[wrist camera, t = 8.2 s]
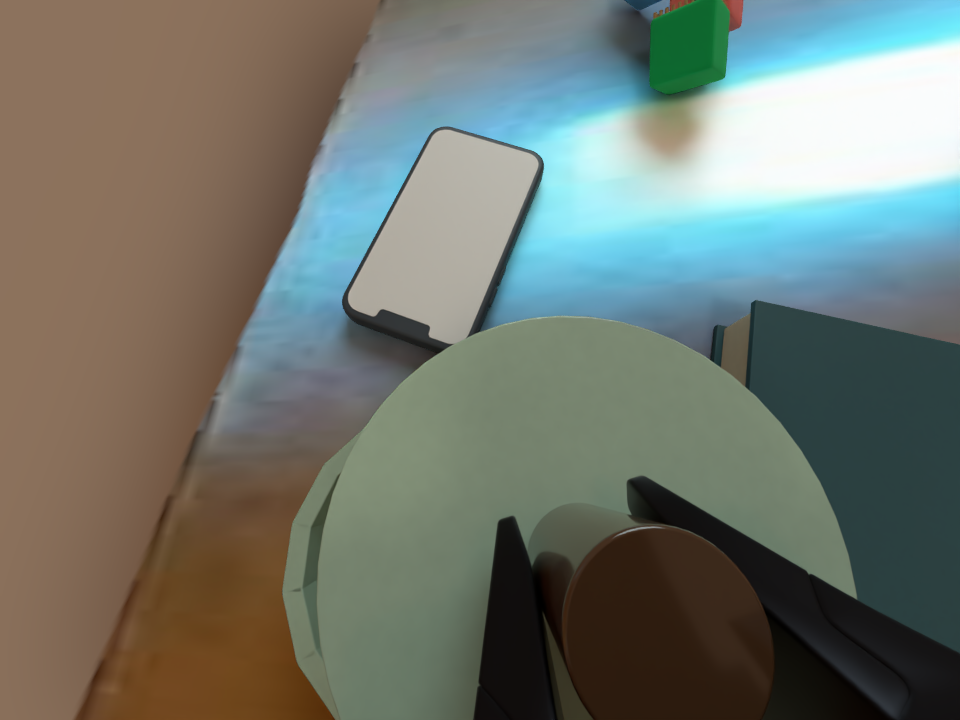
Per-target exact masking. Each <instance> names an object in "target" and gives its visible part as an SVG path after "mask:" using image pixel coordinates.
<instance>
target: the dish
mask: <svg viewBox="0 0 960 720" xmlns="http://www.w3.org/2000/svg"><path fill="white" fill-rule="evenodd" d="M362 431H363V430H362ZM362 431H361V432H362ZM361 432H359V433H358V434H357V435H356V436H355V437H354V438H353V439H352V440H351V441H349V442H348V443H347V444H346V445H345V446H344V447H343V448H342V449H340V450H339V451H338V452H337V453H336V454H335V455H334V456H333V457H332V458H330V459H329V460H328V461H327V462H326V463H325V464H324V466H323V467H322V469H321V471H320V472H319V474H318V476H317V478H316V480H315V482H314V484H313V486H312V487H311V489H310V491H309V493H308V495H307V497H306V499H305V500H304V502H303V504H302V506H301V508H300V510H299V512H298V514H297V515H296V517H295V519H294V521H293V524H292V528H291V535H290V542H289V548H288V555H287V562H286V569H285V575H284V582H283V589H282V592H283V593H282V595H283V600H284V605H285V609H286V614H287V619H288V623H289V628H290V633H291V638H292V642H293V647H294V652H295V656H296V661H297V663H298V666H299V667H300V669H301V670H302V672H303V673H304V675H305V676H306V678H307V679H308V680H309V682H310V683H311V685H312V686H313V688H314V689H315V691H316V692H317V694H318V695H319V697H320V698H321V699H322V701H323V702H324V704H325V705H326V707H327V708H328V710H329V711H330V713H331V714H332V715H333V717H334V718H335V720H340V719H339V716H338V713H337V710H336V707H335V704H334V701H333V698H332V695H331V692H330V689H329V686H328V681H327V676H326V671H325V666H324V662H323V657H322V652H321V647H320V638H319V627H318V615H317V575H318V561H319V554H320V547H321V540H322V534H323V527H324V524H325V520H326V516H327V513H328V509H329V505H330V501H331V498H332V494H333V491H334V489H335V486H336V484H337V481H338V479H339V476H340V474H341V471H342V469H343V466H344V464H345V461H346V459H347V458H348V456H349V454H350V452H351V450H352V449H353V447H354V445H355V443H356V441H357V439H358V438H359V436H360V434H361Z"/></svg>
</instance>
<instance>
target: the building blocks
mask: <svg viewBox="0 0 960 720" xmlns="http://www.w3.org/2000/svg"><path fill="white" fill-rule="evenodd" d="M625 1H626V2H627V3H628V4H630V5H631V6H632V7H634V8H635V9H636V10H641V9H643V8H646V7H648V6H650V5H652V4H655V3H657V2H659V1H661V0H625ZM742 11H743V0H670V12H669V7H667V8H666V9H665V14H663V10H660V11H659V14H657V12H655V13H654V14H653V20H652V22H651V29H650V79H649V82H650V87H652V88H653V89H656V90H658V91H660V92H662V93H664V94H667V95H670V94H674V93H678V92H681V91H685V90H688V89H691V88H695V87H698V86H702V85H705V84H708V83H712V82H715V81H718V80H721V79H723V78H724V77H725V74H726V62H727V48H728V34H729V32H730V31H733V30H735V29H738V28H739V27H740V26H741V22H742ZM662 14H663V15H662Z"/></svg>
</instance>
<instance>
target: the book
mask: <svg viewBox="0 0 960 720" xmlns="http://www.w3.org/2000/svg"><path fill="white" fill-rule="evenodd" d="M711 361H712V362H713V363H715V364H716V365H718V366H719V367H721V368H722V369H723V370H725V371H726V372H728V373H729V374H731V375H732V376H733V377H734V378H735V379H737V380H738V381H739V382H740V383H741V384H742V385H743V386H745V387H746V388H747V389H748V390H749V391H750V392H751V393H753V394H754V395H755V396H756V397H757V398H758V399H759V400H760V401H761V402H762V403H763V404H764V405H765V407H766V408H767V409H768V410H769V411H770V412H771V413H772V414H773V415H774V416H775V417H776V418H777V419H778V421H779V422H780V423H781V424H782V425H783V427H784V428H785V429H786V431H787V432H788V434H789V435H790V436H791V438H792V439H793V440H794V442H795V443H796V444H797V446H798V447H799V448H800V450H801V451H802V453H803V454H804V456H805V458H806V459H807V461H808V463H809V464H810V466H811V468H812V469H813V471H814V473H815V474H816V476H817V478H818V480H819V481H820V483H821V485H822V487H823V489H824V492H825V494H826V496H827V498H828V500H829V503H830V505H831V507H832V509H833V511H834V514H835V516H836V518H837V521H838V524H839V527H840V530H841V533H842V536H843V539H844V543H845V546H846V549H847V552H848V555H849V559H850V564H851V569H852V574H853V579H854V583H855V588H856V593H857V600H859V601H860V602H862V603H864V604H866V605H867V606H869V607H871V608H873V609H875V610H877V611H879V612H881V613H883V614H885V615H886V616H888V617H890V618H892V619H894V620H896V621H898V622H900V623H902V624H904V625H906V626H907V627H909V628H911V629H913V630H915V631H917V632H919V633H921V634H923V635H925V636H927V637H929V638H931V639H933V640H935V641H937V642H939V643H941V644H943V645H945V646H947V647H949V648H951V649H953V650H955V651H957V652H959V653H960V345H959V344H954V343H950V342H945V341H940V340H936V339H931V338H927V337H922V336H918V335H913V334H908V333H904V332H899V331H895V330H890V329H886V328H881V327H877V326H872V325H867V324H863V323H858V322H854V321H849V320H845V319H840V318H836V317H831V316H826V315H822V314H817V313H813V312H808V311H804V310H799V309H794V308H790V307H785V306H781V305H776V304H772V303H767V302H763V301H758V300H755V301H754V302H752V303H751V313H750V314H748V315H747V316H745V317H743V318H742V319H740V320H738V321H737V322H735V323H734V324H732V325H730V326H729V327H725V326H721V325H717V326H715V327H714V335H713V345H712V355H711Z"/></svg>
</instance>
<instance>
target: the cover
mask: <svg viewBox="0 0 960 720" xmlns="http://www.w3.org/2000/svg"><path fill="white" fill-rule="evenodd" d="M641 475H643V476H646V477H648V478H650V479H651V480H653V481H655V482H656V483H658V484H660V485H661V486H663V487H665V488H667V489H668V490H670V491H672V492H673V493H675V494H677V495H679V496H680V497H682V498H684V499H685V500H687V501H689V502H690V503H692V504H694V505H696V506H697V507H699V508H701V509H702V510H704V511H706V512H707V513H709V514H711V515H713V516H714V517H716V518H718V519H719V520H721V521H723V522H725V523H726V524H728V525H730V526H731V527H733V528H735V529H736V530H738V531H740V532H742V533H743V534H745V535H747V536H748V537H750V538H752V539H753V540H755V541H757V542H759V543H760V544H762V545H764V546H765V547H767V548H769V549H770V550H772V551H774V552H776V553H777V554H779V555H781V556H782V557H784V558H786V559H788V560H789V561H791V562H793V563H794V564H796V565H798V566H799V567H801V568H803V569H805V570H806V571H807V572H808V574H813V575H815V576H817V577H818V578H820V579H822V580H824V581H825V582H827V583H829V584H830V585H832V586H834V587H836V588H837V589H839V590H841V591H843V592H844V593H846V594H848V595H850V596H852V597H853V598H855V599H857V593H856V588H855V583H854V579H853V574H852V569H851V564H850V559H849V555H848V552H847V549H846V546H845V543H844V539H843V536H842V533H841V530H840V527H839V524H838V521H837V518H836V516H835V514H834V511H833V509H832V507H831V505H830V503H829V500H828V498H827V496H826V494H825V492H824V489H823V487H822V485H821V483H820V481H819V480H818V478H817V476H816V474H815V473H814V471H813V469H812V468H811V466H810V464H809V463H808V461H807V459H806V458H805V456H804V454H803V453H802V451H801V450H800V448H799V447H798V446H797V444H796V443H795V442H794V440H793V439H792V438H791V436H790V435H789V434H788V432H787V431H786V429H785V428H784V427H783V425H782V424H781V423H780V422H779V421H778V419H777V418H776V417H775V416H774V415H773V414H772V413H771V412H770V411H769V410H768V409H767V408H766V407H765V405H764V404H763V403H762V402H761V401H760V400H759V399H758V398H757V397H756V396H755V395H754V394H753V393H751V392H750V391H749V390H748V389H747V388H746V387H745V386H743V385H742V384H741V383H740V382H739V381H738V380H737V379H735V378H734V377H733V376H732V375H731V374H729V373H728V372H726V371H725V370H723V369H722V368H721V367H719V366H718V365H716V364H715V363H713V362H712V361H711V360H709V359H708V358H706V357H705V356H703V355H701V354H699V353H698V352H696V351H694V350H692V349H690V348H688V347H686V346H685V345H683V344H681V343H679V342H677V341H675V340H673V339H670V338H668V337H665V336H663V335H660V334H658V333H655V332H653V331H650V330H648V329H644V328H641V327H637V326H634V325H630V324H626V323H623V322H619V321H613V320H607V319H600V318H594V317H581V316H552V317H540V318H530V319H525V320H521V321H516V322H511V323H507V324H502V325H499V326H496V327H493V328H491V329H488V330H485V331H482V332H479V333H476V334H474V335H472V336H470V337H468V338H466V339H464V340H462V341H460V342H458V343H456V344H454V345H452V346H450V347H448V348H446V349H445V350H443V351H442V352H440V353H439V354H437V355H436V356H434V357H433V358H431V359H430V360H428V361H427V362H425V363H424V364H423V365H421V366H420V367H419V368H418V369H417V370H416V371H414V372H413V373H412V374H411V375H410V376H409V377H407V378H406V379H405V380H404V381H403V382H402V383H401V384H400V385H399V386H398V387H397V388H396V389H395V390H394V391H393V392H392V393H391V395H390V396H389V397H388V398H387V399H386V400H385V401H384V402H383V403H382V404H381V405H380V407H379V408H378V410H377V411H376V412H375V414H374V415H373V417H372V418H371V419H370V421H369V422H368V424H367V425H366V426H365V428H364V429H363V431H362V432H361V434H360V436H359V438H358V439H357V441H356V443H355V445H354V447H353V449H352V450H351V452H350V454H349V456H348V458H347V459H346V461H345V464H344V466H343V469H342V471H341V474H340V476H339V479H338V481H337V484H336V486H335V489H334V491H333V494H332V498H331V501H330V505H329V509H328V513H327V516H326V520H325V524H324V527H323V534H322V540H321V547H320V554H319V561H318V575H317V615H318V627H319V638H320V647H321V652H322V657H323V662H324V666H325V671H326V676H327V681H328V686H329V689H330V692H331V695H332V698H333V701H334V704H335V707H336V710H337V713H338V716H339V719H340V720H473V716H474V709H475V701H476V693H477V687H478V686H480V685H479V683H478V679H479V671H480V662H481V654H482V646H483V638H484V630H485V621H486V613H487V605H488V597H489V589H490V581H491V572H492V564H493V556H494V548H495V540H496V531H497V524H498V521H499V520H500V519H502V518H505V517H508V516H515V518H516V520H517V523H518V526H519V529H520V532H521V535H522V538H523V541H524V544H525V547H526V550H527V552H528V555H529V559H530V562H531V566H532V570H533V574H534V578H535V582H536V586H537V591H538V595H539V600H540V605H541V608H542V611H543V615H544V619H545V624H546V629H547V634H548V639H549V644H550V650H551V655H552V660H553V665H554V670H555V675H556V680H557V685H558V691H559V696H560V701H561V706H562V711H563V716H564V720H762V718H763V716H764V714H765V712H766V709H767V707H768V704H769V701H770V698H771V693H772V688H773V684H774V672H775V656H774V646H773V639H772V634H771V630H770V626H769V623H768V619H767V617H766V614H765V611H764V609H763V606H762V604H761V602H760V600H759V598H758V596H757V594H756V592H755V590H754V589H753V587H752V586H751V584H750V583H749V581H748V579H747V578H746V576H745V575H744V574H743V573H742V571H741V570H740V569H739V568H738V566H737V565H736V564H735V563H734V562H733V561H732V560H731V559H730V558H729V557H728V556H727V555H726V554H725V553H724V552H722V551H721V550H720V549H719V548H717V547H716V546H715V545H714V544H712V543H711V542H709V541H707V540H706V539H704V538H703V537H701V536H699V535H696V534H694V533H692V532H690V531H688V530H684V529H681V528H678V527H675V526H671V525H668V524H664V523H660V522H656V521H652V520H649V519H645V518H641V517H637V516H633V515H631V513H630V510H629V508H628V504H627V488H626V483H627V480H628V479H630V478H634V477H637V476H641Z"/></svg>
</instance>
